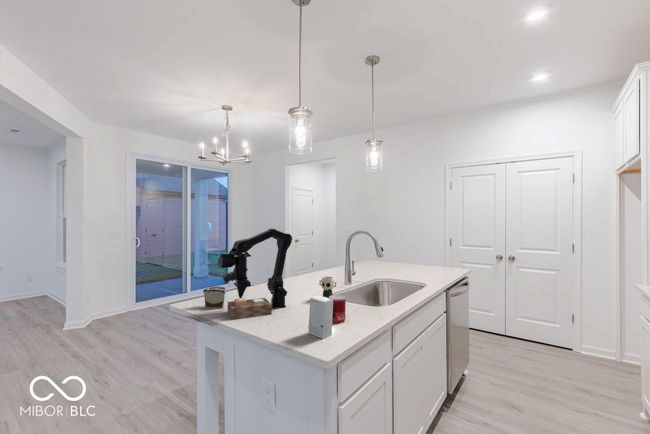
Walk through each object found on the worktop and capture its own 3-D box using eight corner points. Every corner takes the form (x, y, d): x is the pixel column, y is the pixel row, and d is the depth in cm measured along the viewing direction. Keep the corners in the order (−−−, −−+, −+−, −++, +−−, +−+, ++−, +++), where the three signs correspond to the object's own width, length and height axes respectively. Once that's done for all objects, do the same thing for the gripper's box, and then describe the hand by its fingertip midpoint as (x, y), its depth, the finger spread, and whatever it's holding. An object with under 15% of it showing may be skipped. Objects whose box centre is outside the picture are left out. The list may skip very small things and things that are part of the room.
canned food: (347, 318, 141) (347, 295, 141) (342, 324, 133) (342, 299, 134) (331, 317, 143) (331, 294, 144) (326, 322, 136) (326, 298, 136)
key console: (264, 307, 159) (265, 297, 159) (271, 314, 147) (271, 304, 147) (227, 311, 150) (227, 301, 150) (231, 319, 139) (231, 308, 139)
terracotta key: (244, 305, 150) (244, 297, 150) (246, 307, 145) (246, 300, 146) (234, 306, 148) (234, 299, 148) (235, 309, 143) (235, 301, 143)
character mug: (316, 300, 173) (316, 277, 174) (322, 297, 180) (322, 275, 180) (333, 302, 169) (333, 279, 169) (338, 299, 175) (338, 277, 175)
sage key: (262, 305, 154) (262, 298, 154) (264, 307, 149) (264, 300, 149) (252, 306, 152) (252, 299, 152) (254, 309, 147) (254, 301, 147)
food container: (230, 305, 162) (230, 286, 162) (225, 308, 156) (225, 289, 156) (208, 304, 163) (208, 286, 164) (202, 307, 157) (202, 288, 157)
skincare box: (308, 334, 122) (308, 297, 122) (317, 329, 127) (318, 294, 127) (323, 339, 117) (324, 301, 117) (333, 335, 121) (333, 298, 121)
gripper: (221, 264, 152) (220, 295, 152) (226, 270, 135) (225, 304, 135) (243, 263, 157) (243, 293, 156) (251, 268, 140) (250, 302, 140)
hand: (240, 298), depth 147 cm, fingers closed
